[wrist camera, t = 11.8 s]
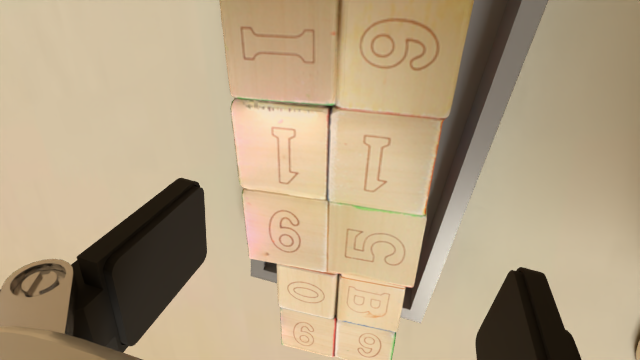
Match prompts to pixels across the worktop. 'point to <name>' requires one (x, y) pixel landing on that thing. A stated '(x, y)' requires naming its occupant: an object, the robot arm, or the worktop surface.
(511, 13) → the tray
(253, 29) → the stack of blocks
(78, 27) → the worktop surface
